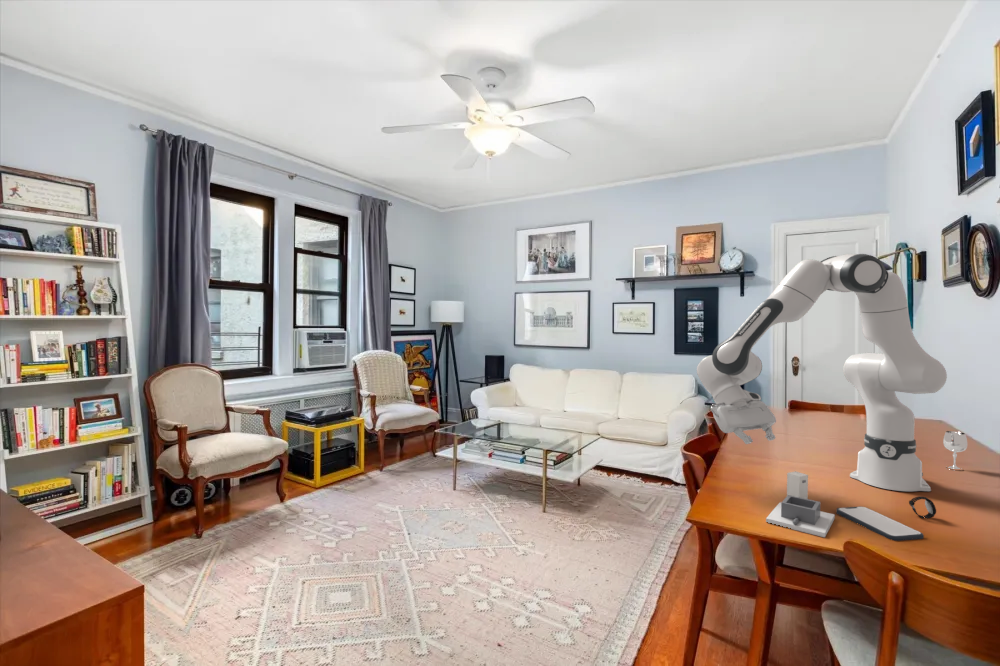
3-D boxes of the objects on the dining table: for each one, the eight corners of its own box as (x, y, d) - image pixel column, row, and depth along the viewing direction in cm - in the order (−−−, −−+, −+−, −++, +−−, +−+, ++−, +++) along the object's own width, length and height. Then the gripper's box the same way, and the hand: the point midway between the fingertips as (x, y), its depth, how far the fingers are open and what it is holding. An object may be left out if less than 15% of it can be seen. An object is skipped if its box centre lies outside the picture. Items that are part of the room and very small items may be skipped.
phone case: (926, 541, 108) (863, 511, 124) (927, 534, 108) (863, 505, 124) (892, 544, 107) (833, 513, 123) (893, 537, 107) (833, 507, 123)
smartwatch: (936, 522, 117) (936, 502, 117) (908, 516, 120) (908, 496, 120) (935, 517, 120) (936, 497, 120) (908, 511, 123) (908, 492, 123)
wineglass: (965, 472, 154) (966, 435, 154) (941, 468, 158) (942, 432, 158) (967, 469, 158) (968, 432, 157) (943, 465, 162) (944, 429, 162)
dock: (779, 505, 127) (780, 488, 127) (834, 518, 119) (835, 500, 119) (765, 522, 117) (766, 504, 117) (824, 537, 109) (825, 517, 108)
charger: (795, 500, 131) (795, 471, 131) (808, 504, 128) (808, 475, 127) (786, 502, 130) (787, 472, 129) (799, 506, 126) (800, 476, 126)
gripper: (714, 398, 141) (742, 438, 132) (762, 393, 149) (792, 431, 141) (702, 410, 145) (728, 450, 137) (749, 405, 154) (777, 443, 145)
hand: (761, 441), depth 139 cm, fingers open, 8 cm apart
